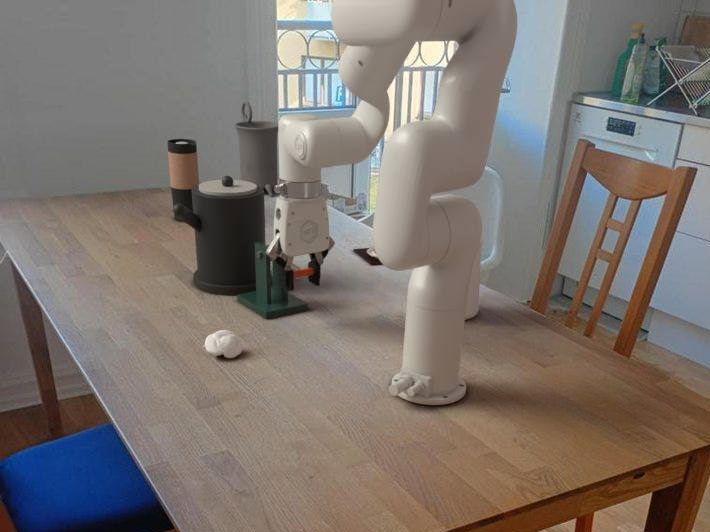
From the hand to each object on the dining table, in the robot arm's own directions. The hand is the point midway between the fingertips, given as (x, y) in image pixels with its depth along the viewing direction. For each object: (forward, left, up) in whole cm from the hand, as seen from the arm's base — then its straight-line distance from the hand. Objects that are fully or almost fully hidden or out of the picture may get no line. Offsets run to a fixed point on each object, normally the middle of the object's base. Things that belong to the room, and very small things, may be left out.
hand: (301, 285), depth 152 cm
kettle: (+7, +29, -8) cm, 31 cm away
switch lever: (+2, +6, +2) cm, 6 cm away
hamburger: (+48, +12, -8) cm, 50 cm away
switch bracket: (+3, +11, -8) cm, 13 cm away
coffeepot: (+24, -20, -8) cm, 33 cm away
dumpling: (-22, +1, -8) cm, 23 cm away
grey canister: (+79, +81, -8) cm, 113 cm away
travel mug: (+39, +73, -8) cm, 83 cm away
